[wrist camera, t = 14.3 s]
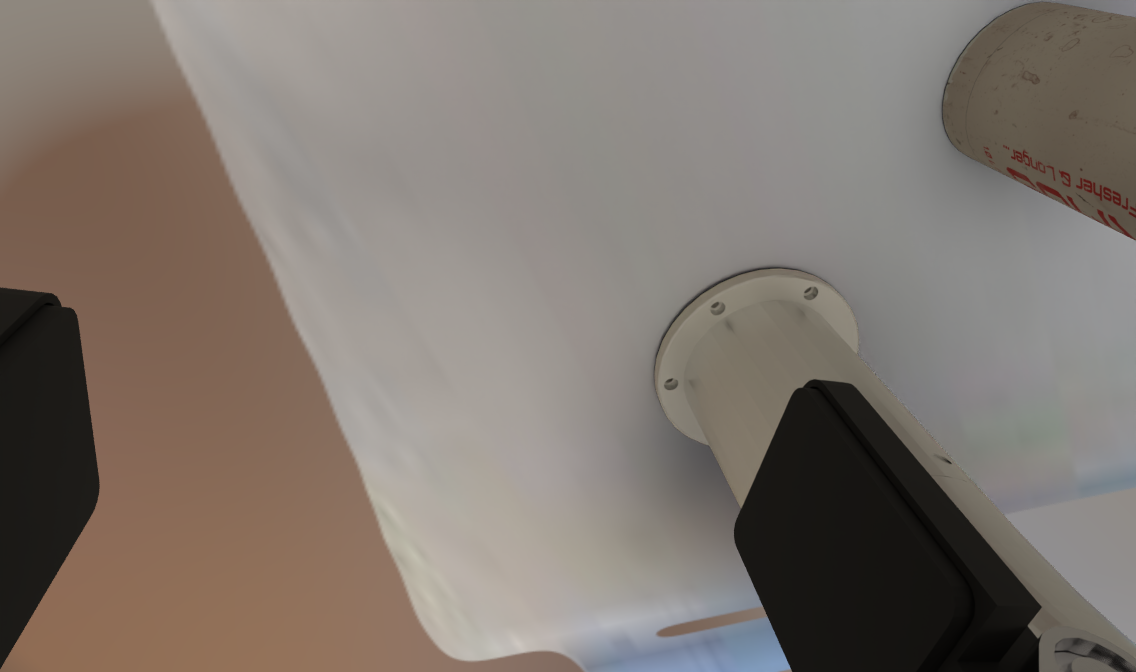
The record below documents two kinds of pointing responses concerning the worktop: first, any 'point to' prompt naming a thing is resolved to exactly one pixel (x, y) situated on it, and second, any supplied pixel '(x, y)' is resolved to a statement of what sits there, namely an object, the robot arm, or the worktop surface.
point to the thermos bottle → (1053, 106)
